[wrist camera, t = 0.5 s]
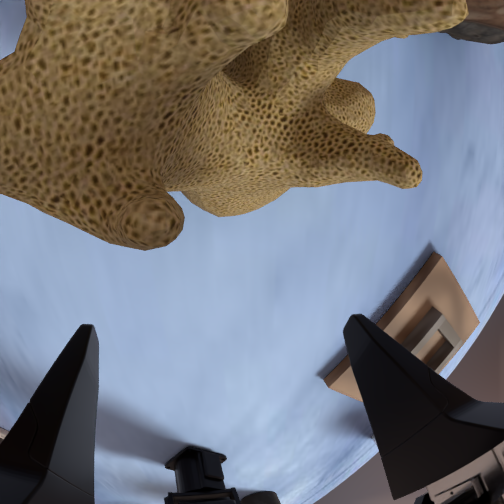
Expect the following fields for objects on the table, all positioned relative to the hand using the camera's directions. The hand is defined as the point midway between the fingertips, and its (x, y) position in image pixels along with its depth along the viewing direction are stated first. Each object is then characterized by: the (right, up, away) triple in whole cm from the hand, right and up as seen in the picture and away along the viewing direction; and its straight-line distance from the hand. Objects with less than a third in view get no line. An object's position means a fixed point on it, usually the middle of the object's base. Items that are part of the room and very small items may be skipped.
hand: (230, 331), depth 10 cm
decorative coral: (0, +18, +10) cm, 21 cm away
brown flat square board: (+23, -10, +27) cm, 37 cm away
